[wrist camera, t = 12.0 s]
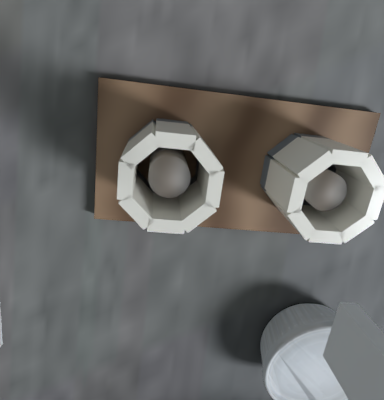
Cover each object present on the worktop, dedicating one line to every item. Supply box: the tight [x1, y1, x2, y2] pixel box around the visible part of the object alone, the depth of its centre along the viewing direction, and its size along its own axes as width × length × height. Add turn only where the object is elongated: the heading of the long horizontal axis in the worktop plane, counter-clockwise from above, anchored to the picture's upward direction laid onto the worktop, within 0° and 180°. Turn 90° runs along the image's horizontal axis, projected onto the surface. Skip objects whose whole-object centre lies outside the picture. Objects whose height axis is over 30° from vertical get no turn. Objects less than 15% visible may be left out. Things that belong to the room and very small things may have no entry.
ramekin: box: [260, 303, 348, 400], centre depth 36 cm, size 11×11×5 cm
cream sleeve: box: [117, 118, 225, 234], centre depth 26 cm, size 7×7×7 cm
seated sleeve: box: [260, 133, 384, 244], centre depth 28 cm, size 7×7×7 cm
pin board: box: [94, 77, 381, 234], centre depth 28 cm, size 24×12×6 cm, turn 83°
